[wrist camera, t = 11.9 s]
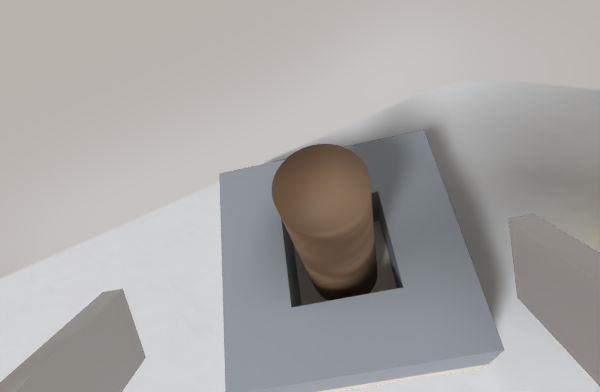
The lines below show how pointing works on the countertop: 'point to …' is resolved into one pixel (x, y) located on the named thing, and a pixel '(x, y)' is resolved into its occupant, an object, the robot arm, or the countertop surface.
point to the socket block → (358, 309)
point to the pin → (329, 218)
